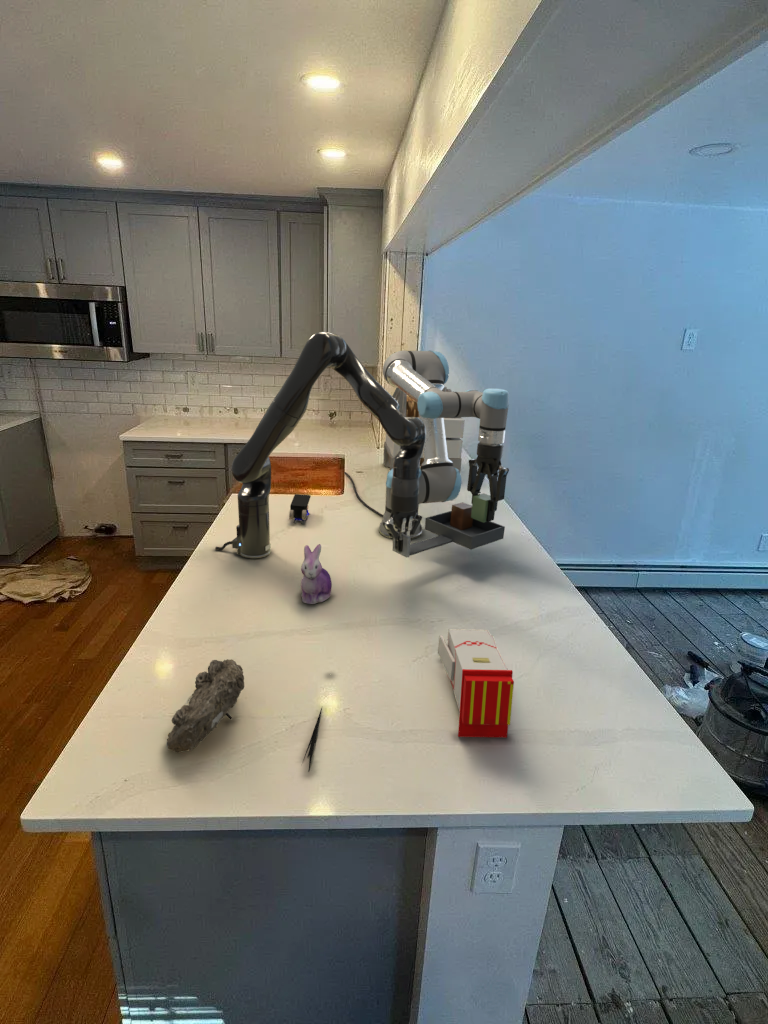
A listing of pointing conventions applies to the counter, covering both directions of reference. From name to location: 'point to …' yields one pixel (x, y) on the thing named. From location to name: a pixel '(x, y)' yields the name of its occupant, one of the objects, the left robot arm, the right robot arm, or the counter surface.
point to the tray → (452, 535)
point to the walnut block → (461, 516)
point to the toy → (478, 682)
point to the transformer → (410, 409)
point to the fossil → (206, 705)
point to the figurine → (314, 578)
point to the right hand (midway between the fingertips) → (482, 517)
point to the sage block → (480, 507)
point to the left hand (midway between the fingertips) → (401, 550)
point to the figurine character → (299, 507)
